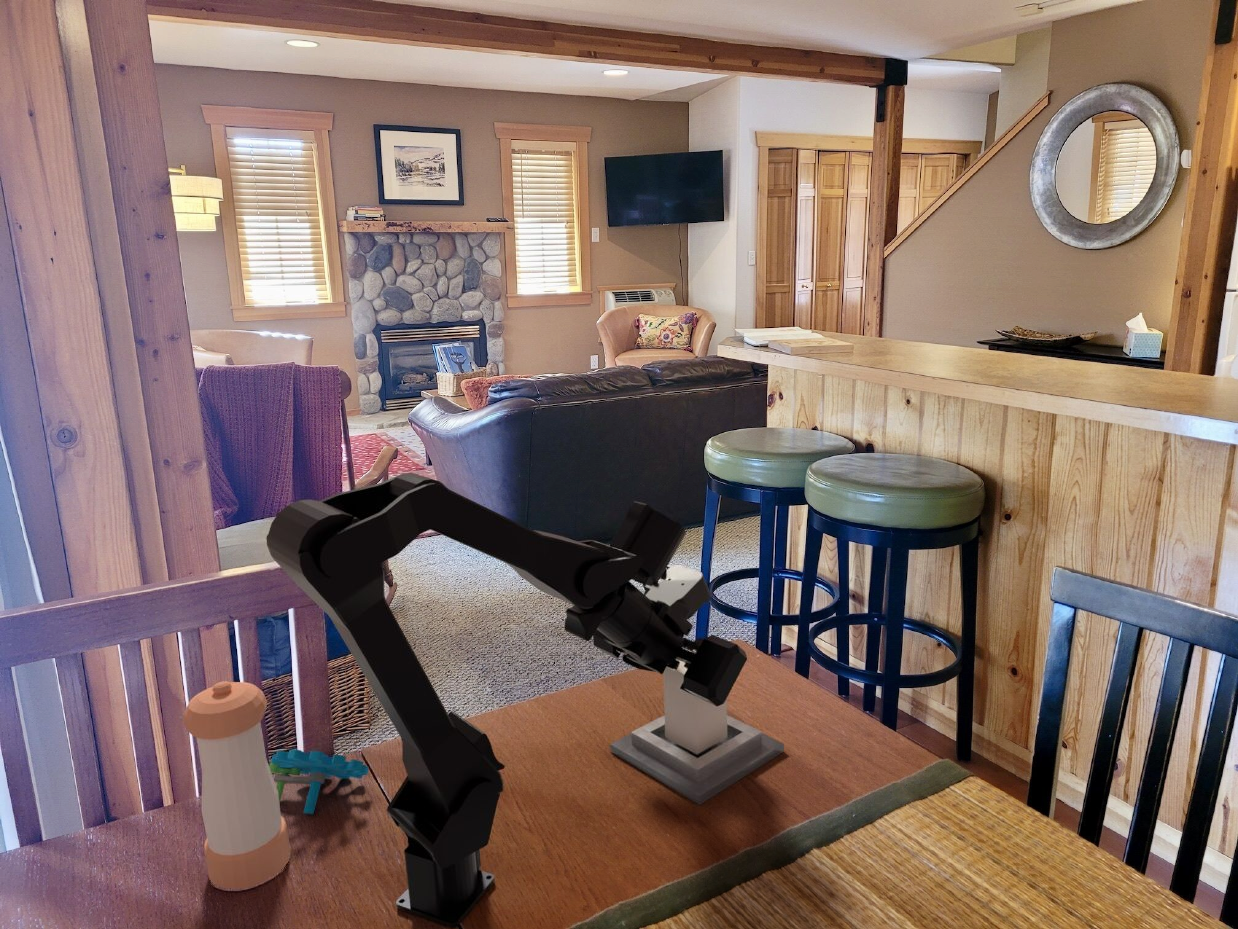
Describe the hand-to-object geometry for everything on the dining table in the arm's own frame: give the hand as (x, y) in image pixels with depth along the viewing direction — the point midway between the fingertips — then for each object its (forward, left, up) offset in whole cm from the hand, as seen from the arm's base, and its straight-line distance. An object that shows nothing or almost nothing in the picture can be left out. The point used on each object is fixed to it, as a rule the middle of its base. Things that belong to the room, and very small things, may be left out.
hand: (703, 680), depth 97 cm
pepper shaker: (-35, +34, -9) cm, 49 cm away
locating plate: (-1, +1, -8) cm, 9 cm away
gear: (-24, +35, -9) cm, 44 cm away
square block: (-1, +1, -7) cm, 7 cm away
